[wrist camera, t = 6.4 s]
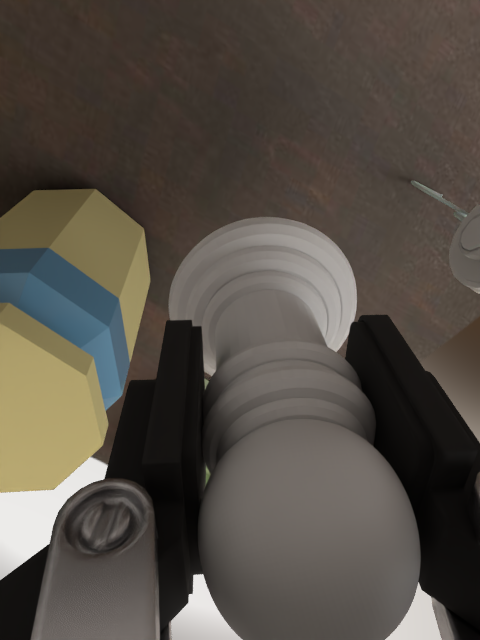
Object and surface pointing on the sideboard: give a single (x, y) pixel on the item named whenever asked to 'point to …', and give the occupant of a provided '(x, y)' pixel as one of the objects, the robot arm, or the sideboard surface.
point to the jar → (64, 329)
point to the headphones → (463, 242)
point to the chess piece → (291, 443)
